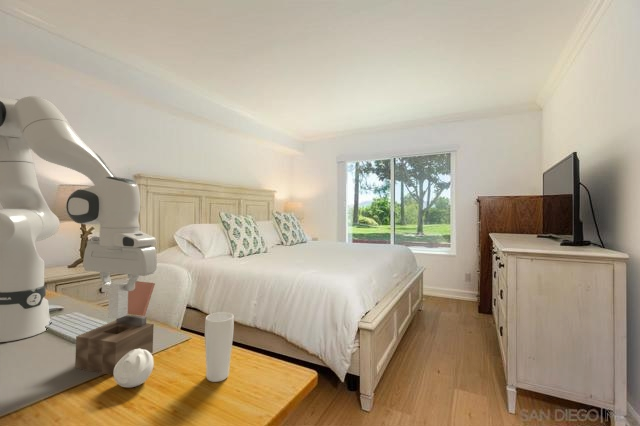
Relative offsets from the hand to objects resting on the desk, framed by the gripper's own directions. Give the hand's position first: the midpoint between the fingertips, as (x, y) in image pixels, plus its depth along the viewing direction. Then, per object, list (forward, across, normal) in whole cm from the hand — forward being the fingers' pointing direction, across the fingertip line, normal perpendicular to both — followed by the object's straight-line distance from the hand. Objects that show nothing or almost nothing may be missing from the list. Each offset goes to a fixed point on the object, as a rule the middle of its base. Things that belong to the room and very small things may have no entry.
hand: (118, 289), depth 78 cm
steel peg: (+7, 0, 0) cm, 7 cm away
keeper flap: (+4, 0, +6) cm, 7 cm away
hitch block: (+19, 0, 0) cm, 19 cm away
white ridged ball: (+19, +13, -8) cm, 24 cm away
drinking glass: (+19, +30, 0) cm, 36 cm away
